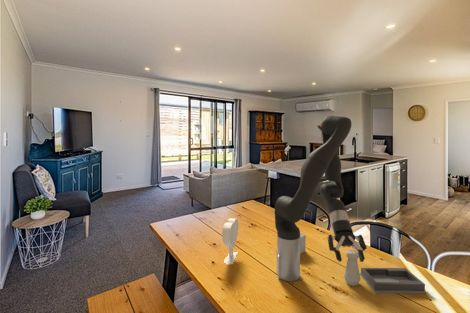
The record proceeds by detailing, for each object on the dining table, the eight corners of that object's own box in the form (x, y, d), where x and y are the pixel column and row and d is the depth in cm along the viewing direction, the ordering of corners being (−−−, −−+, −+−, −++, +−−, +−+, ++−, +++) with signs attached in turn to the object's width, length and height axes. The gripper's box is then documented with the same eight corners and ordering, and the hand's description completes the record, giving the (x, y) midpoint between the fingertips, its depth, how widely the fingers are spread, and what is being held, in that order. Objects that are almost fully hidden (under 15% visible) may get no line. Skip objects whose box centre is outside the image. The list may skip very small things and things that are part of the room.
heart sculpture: (230, 249, 127) (230, 215, 126) (240, 250, 126) (239, 216, 124) (221, 264, 112) (220, 226, 111) (231, 266, 111) (231, 227, 109)
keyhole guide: (375, 292, 91) (375, 284, 90) (360, 274, 103) (360, 267, 102) (425, 293, 90) (426, 285, 89) (404, 275, 102) (404, 267, 101)
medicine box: (297, 248, 127) (298, 232, 126) (305, 251, 124) (305, 234, 123) (289, 254, 121) (289, 237, 121) (297, 257, 118) (297, 239, 117)
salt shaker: (346, 277, 101) (346, 246, 100) (361, 282, 97) (362, 250, 96) (342, 283, 96) (342, 252, 95) (357, 289, 93) (358, 256, 92)
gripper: (326, 219, 105) (335, 258, 95) (360, 219, 104) (373, 258, 94) (322, 226, 111) (330, 264, 100) (354, 226, 110) (366, 264, 100)
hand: (351, 261), depth 97 cm, fingers open, 8 cm apart
